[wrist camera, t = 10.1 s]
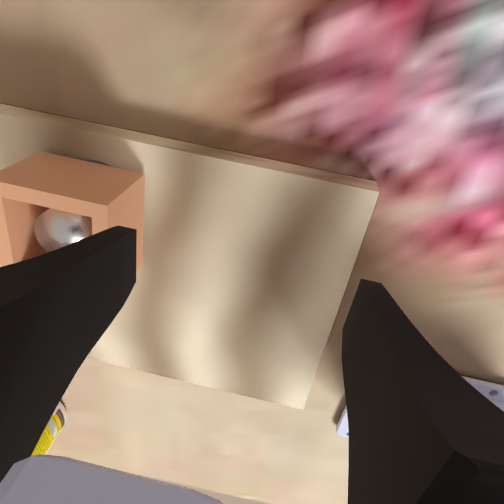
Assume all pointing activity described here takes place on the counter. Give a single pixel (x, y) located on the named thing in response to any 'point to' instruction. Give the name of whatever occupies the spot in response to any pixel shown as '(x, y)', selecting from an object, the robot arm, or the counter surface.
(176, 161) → the beige base plate
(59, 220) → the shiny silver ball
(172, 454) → the counter surface
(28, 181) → the orange hollow cube
